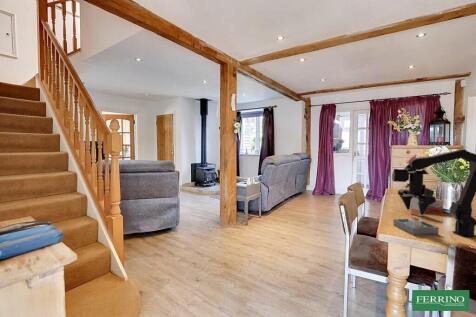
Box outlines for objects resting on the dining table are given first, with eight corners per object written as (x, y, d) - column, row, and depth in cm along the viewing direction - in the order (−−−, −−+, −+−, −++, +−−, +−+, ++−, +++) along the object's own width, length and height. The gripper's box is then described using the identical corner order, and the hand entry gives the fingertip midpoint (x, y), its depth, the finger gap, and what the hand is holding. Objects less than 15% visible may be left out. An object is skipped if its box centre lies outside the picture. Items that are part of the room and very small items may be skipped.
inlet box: (438, 234, 119) (438, 227, 118) (412, 235, 118) (413, 228, 118) (416, 224, 133) (416, 218, 132) (393, 225, 132) (393, 219, 132)
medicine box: (439, 210, 158) (439, 198, 157) (442, 214, 150) (443, 201, 150) (411, 208, 165) (411, 196, 164) (413, 211, 158) (413, 199, 157)
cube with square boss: (421, 229, 124) (421, 219, 123) (413, 230, 123) (414, 219, 123) (415, 227, 127) (415, 216, 127) (408, 227, 127) (408, 217, 127)
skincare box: (410, 213, 152) (410, 195, 151) (414, 213, 153) (415, 194, 152) (420, 216, 146) (420, 197, 145) (424, 215, 148) (425, 196, 147)
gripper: (447, 185, 115) (446, 217, 116) (416, 179, 133) (415, 206, 134) (425, 185, 114) (423, 217, 115) (397, 179, 133) (396, 207, 134)
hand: (414, 211), depth 125 cm, fingers open, 9 cm apart
